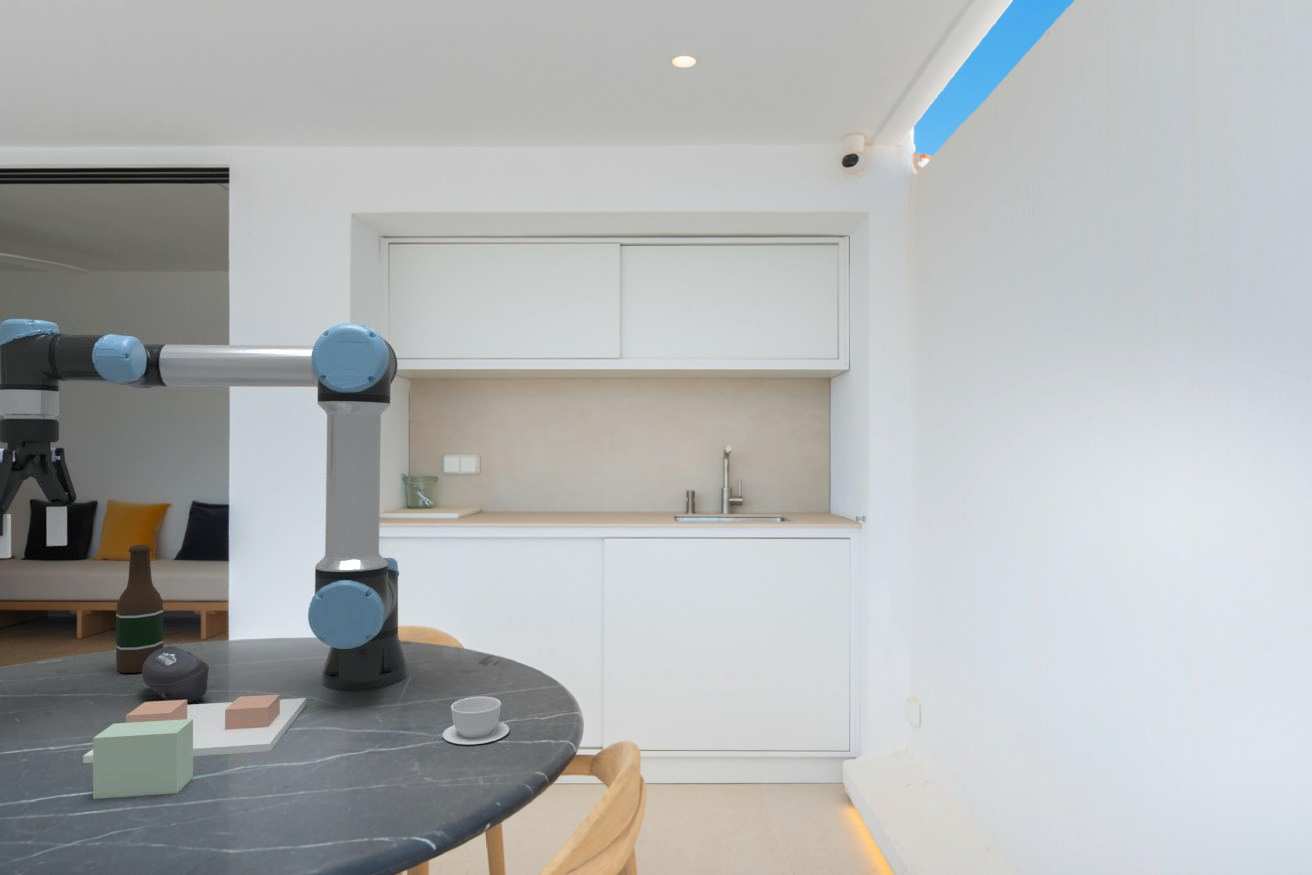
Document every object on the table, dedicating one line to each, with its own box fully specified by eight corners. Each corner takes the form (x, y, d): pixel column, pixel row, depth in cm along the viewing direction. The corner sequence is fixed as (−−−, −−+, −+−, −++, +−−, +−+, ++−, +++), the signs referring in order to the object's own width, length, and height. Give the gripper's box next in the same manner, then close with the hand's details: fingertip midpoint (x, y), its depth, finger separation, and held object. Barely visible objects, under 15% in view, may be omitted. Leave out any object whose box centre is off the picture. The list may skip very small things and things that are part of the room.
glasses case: (129, 692, 138) (130, 648, 138) (195, 679, 146) (195, 637, 146) (164, 716, 126) (164, 668, 126) (233, 700, 134) (233, 654, 134)
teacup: (476, 752, 112) (476, 720, 112) (428, 738, 117) (428, 707, 117) (523, 730, 121) (523, 700, 121) (476, 718, 126) (476, 689, 126)
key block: (193, 779, 103) (193, 718, 103) (177, 796, 98) (176, 732, 98) (113, 784, 102) (113, 723, 102) (93, 802, 97) (93, 737, 97)
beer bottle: (172, 663, 156) (172, 543, 156) (135, 675, 148) (135, 549, 148) (144, 660, 158) (144, 542, 158) (106, 671, 151) (106, 547, 151)
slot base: (306, 705, 132) (306, 680, 132) (269, 751, 112) (269, 722, 112) (149, 714, 127) (149, 688, 127) (83, 764, 108) (82, 734, 108)
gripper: (53, 419, 136) (54, 541, 136) (-58, 415, 111) (-58, 564, 111) (100, 419, 137) (100, 540, 137) (-1, 415, 112) (0, 563, 112)
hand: (29, 551), depth 124 cm, fingers open, 13 cm apart
